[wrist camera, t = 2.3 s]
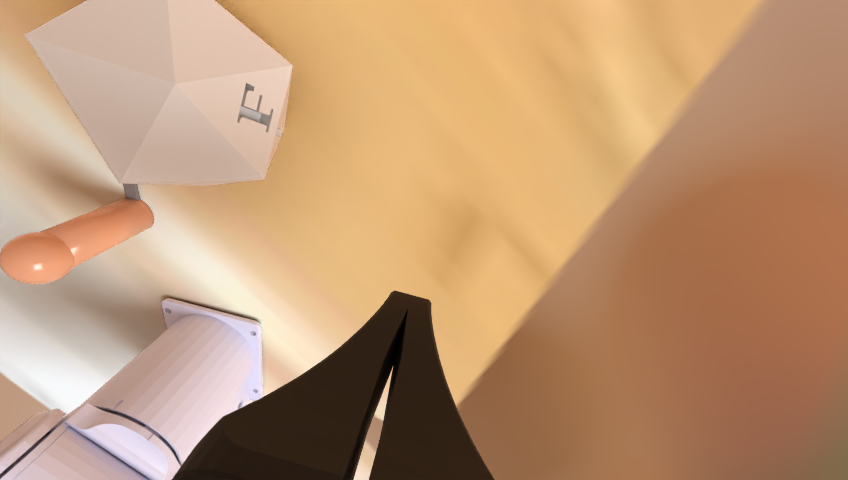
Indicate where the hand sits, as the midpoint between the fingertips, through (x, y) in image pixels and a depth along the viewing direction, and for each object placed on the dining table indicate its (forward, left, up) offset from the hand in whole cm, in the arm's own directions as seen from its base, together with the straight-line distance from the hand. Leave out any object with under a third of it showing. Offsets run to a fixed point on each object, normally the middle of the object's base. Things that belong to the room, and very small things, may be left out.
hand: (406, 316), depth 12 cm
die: (+4, +12, -10) cm, 17 cm away
